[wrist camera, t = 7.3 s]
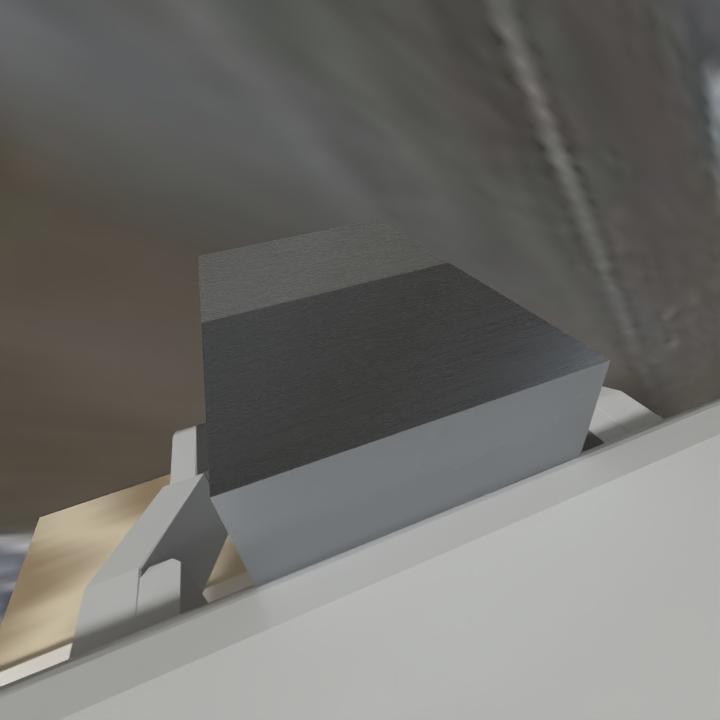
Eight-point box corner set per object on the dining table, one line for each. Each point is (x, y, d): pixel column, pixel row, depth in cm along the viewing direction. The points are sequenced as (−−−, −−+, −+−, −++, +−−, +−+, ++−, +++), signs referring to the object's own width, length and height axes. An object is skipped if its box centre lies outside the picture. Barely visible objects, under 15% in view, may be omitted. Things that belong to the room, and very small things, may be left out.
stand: (296, 424, 21) (344, 558, 15) (331, 556, 28) (373, 683, 22) (21, 515, 18) (-68, 732, 12) (139, 636, 25) (124, 812, 19)
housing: (376, 219, 11) (610, 360, 5) (390, 403, 15) (531, 611, 9) (198, 255, 10) (210, 498, 4) (262, 444, 14) (320, 715, 8)
